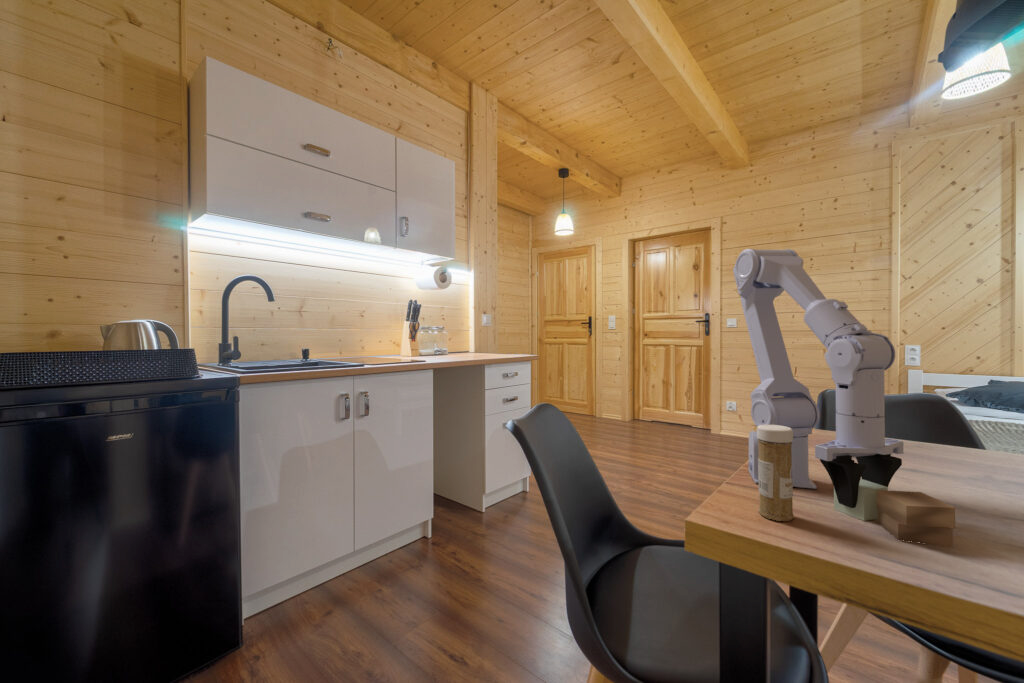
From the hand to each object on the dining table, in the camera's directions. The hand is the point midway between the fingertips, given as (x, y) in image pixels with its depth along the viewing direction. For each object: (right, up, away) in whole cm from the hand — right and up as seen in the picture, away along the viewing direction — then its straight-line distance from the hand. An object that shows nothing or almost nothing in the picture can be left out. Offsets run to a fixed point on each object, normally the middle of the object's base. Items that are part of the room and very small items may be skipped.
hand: (860, 503), depth 64 cm
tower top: (+1, +1, -7) cm, 7 cm away
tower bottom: (+1, -2, -7) cm, 7 cm away
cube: (0, -1, 0) cm, 1 cm away
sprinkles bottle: (-13, -2, -1) cm, 13 cm away
